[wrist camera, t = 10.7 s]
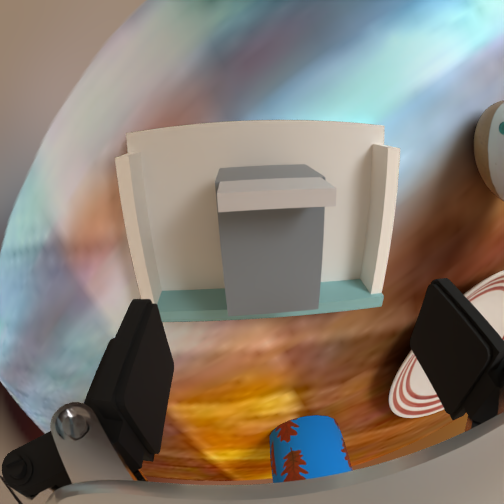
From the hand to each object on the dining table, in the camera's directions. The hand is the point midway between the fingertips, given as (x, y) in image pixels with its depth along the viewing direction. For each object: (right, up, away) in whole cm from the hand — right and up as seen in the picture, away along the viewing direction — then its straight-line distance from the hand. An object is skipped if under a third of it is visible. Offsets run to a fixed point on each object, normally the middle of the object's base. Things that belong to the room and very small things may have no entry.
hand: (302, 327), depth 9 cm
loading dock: (-1, +6, +14) cm, 15 cm away
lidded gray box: (-1, +5, +12) cm, 13 cm away
